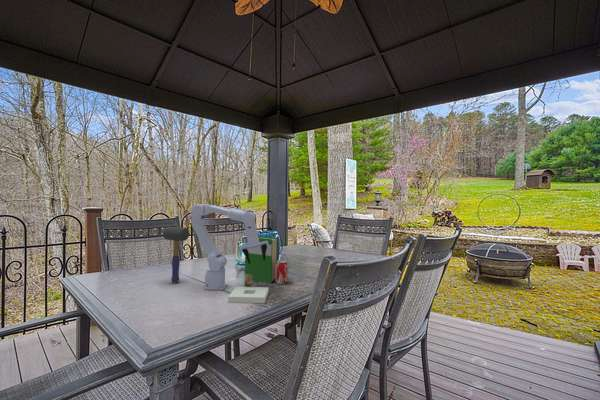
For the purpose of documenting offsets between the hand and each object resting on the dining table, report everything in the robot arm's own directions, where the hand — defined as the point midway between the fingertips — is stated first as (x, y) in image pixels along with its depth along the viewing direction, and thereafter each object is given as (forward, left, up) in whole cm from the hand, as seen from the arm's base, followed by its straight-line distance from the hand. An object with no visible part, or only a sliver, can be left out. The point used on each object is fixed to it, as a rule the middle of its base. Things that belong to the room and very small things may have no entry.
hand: (256, 261), depth 140 cm
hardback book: (0, +17, -14) cm, 22 cm away
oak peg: (-4, 0, -14) cm, 14 cm away
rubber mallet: (-45, +8, -14) cm, 48 cm away
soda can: (+12, +11, -14) cm, 21 cm away
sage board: (-1, -12, -14) cm, 18 cm away
